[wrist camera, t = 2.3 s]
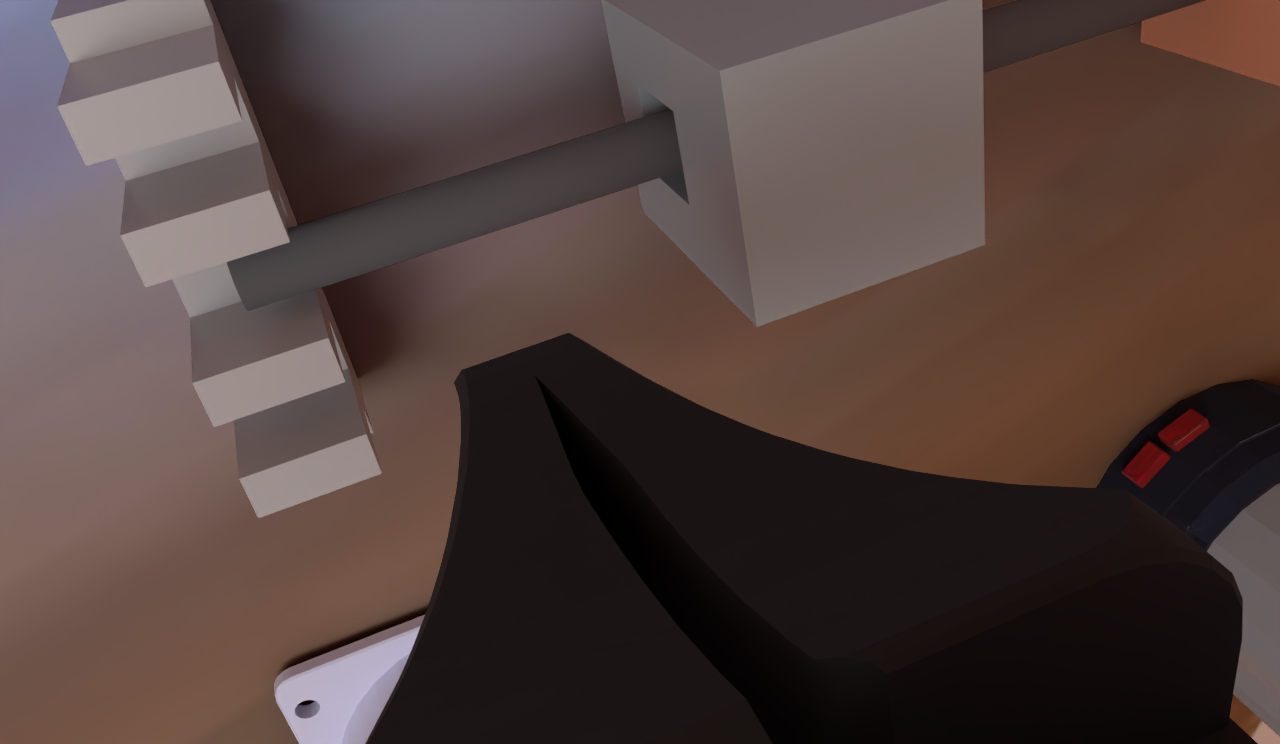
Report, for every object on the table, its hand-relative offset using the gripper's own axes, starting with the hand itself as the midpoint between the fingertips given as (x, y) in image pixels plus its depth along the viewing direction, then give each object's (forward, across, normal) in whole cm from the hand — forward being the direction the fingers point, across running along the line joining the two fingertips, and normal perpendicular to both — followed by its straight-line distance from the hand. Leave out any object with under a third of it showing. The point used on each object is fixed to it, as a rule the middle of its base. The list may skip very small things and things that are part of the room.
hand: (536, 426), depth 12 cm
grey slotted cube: (+9, -6, 0) cm, 11 cm away
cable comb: (+9, +3, 0) cm, 10 cm away
